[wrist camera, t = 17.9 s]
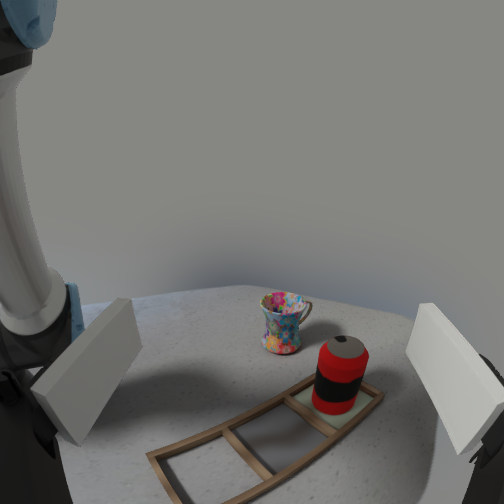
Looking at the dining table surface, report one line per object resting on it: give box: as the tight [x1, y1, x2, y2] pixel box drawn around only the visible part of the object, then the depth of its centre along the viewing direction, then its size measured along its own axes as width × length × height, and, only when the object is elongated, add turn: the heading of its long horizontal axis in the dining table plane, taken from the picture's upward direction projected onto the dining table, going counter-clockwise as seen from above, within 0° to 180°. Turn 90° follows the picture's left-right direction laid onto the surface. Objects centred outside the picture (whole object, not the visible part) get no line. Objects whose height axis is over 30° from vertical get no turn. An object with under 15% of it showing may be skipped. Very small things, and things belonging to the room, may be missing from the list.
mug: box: [260, 292, 312, 354], centre depth 56 cm, size 12×9×11 cm
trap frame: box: [145, 372, 385, 504], centre depth 34 cm, size 13×37×2 cm, turn 125°
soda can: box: [312, 336, 369, 415], centre depth 39 cm, size 8×8×12 cm
